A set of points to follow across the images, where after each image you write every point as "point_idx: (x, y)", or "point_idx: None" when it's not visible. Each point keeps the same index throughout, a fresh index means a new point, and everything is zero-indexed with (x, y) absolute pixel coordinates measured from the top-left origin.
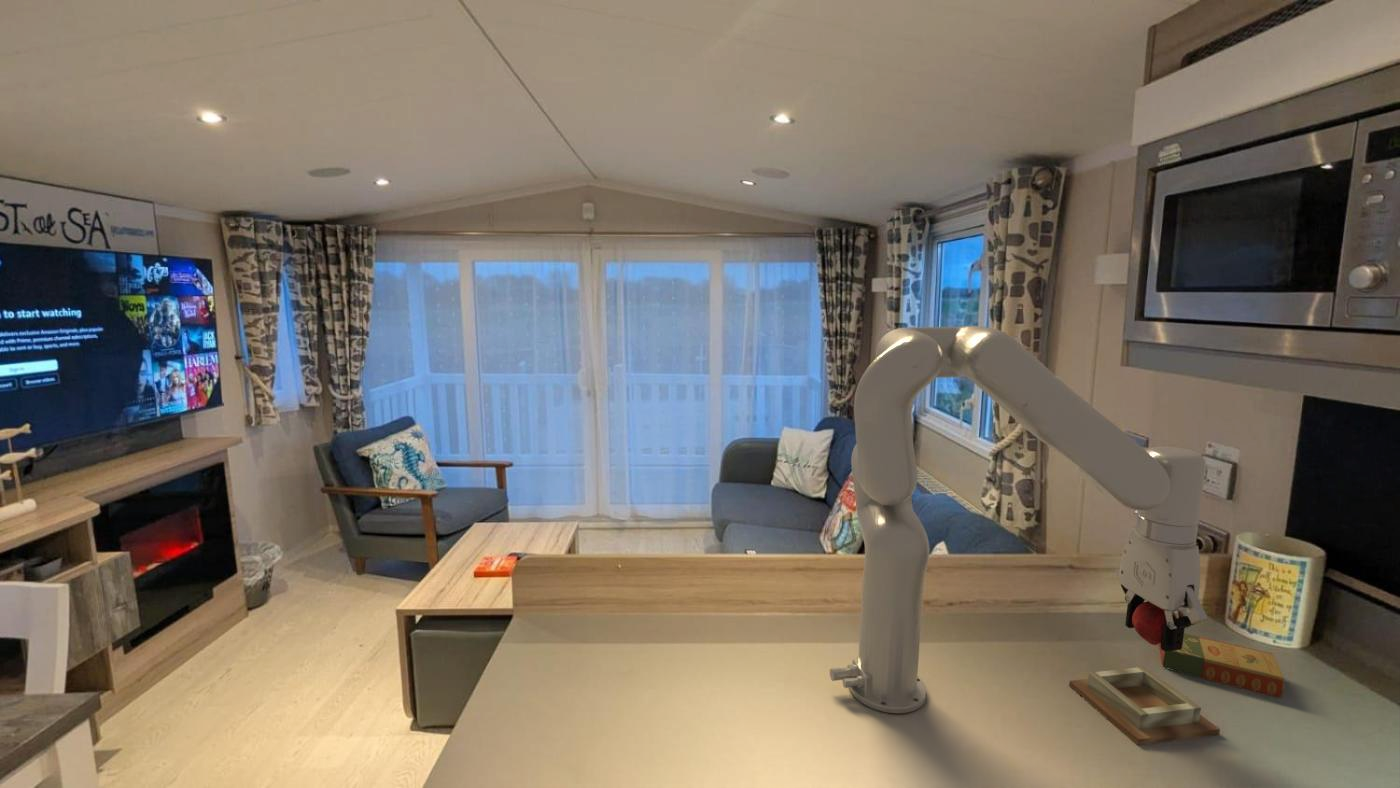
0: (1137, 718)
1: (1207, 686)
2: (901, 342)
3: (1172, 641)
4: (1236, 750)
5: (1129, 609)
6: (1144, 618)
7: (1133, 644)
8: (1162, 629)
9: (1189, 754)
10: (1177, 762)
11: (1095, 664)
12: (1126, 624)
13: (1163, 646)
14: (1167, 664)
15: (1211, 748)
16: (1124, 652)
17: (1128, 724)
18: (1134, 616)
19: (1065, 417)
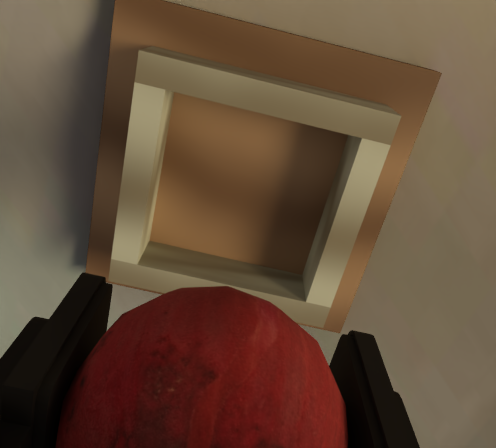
0: (157, 51)
1: None
2: None
3: (28, 338)
4: (35, 247)
5: (386, 428)
6: (191, 373)
7: (442, 440)
8: (62, 367)
9: (51, 112)
10: (31, 38)
11: (451, 267)
12: (367, 338)
13: (76, 284)
14: None
15: (56, 196)
16: (435, 389)
17: (185, 37)
18: (298, 369)
19: None
